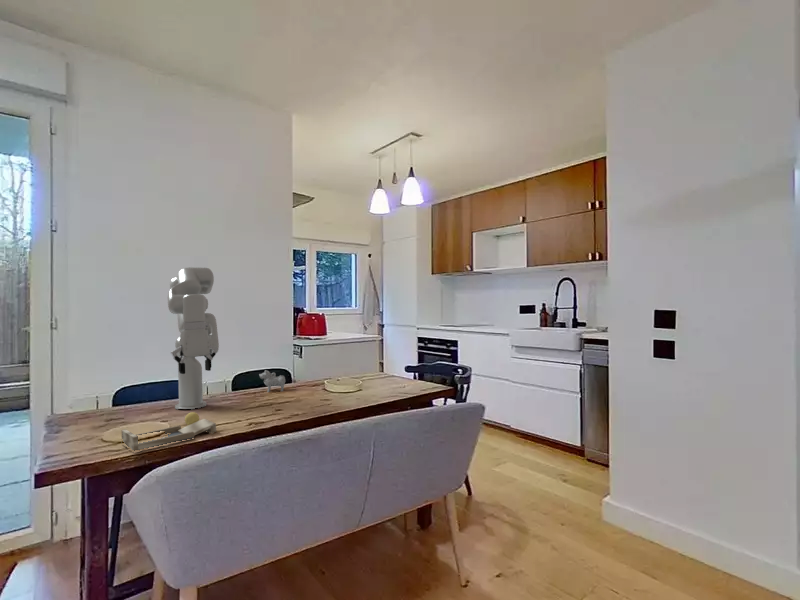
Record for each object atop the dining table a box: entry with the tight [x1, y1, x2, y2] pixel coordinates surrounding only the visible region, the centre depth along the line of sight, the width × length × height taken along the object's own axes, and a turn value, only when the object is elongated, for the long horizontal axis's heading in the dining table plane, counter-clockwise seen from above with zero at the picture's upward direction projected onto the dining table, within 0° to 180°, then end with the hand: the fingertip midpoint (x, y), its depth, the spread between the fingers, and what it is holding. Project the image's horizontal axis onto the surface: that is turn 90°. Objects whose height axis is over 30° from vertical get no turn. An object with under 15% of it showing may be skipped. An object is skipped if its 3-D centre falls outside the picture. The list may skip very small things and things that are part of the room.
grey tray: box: [121, 425, 195, 451], centre depth 156 cm, size 12×19×5 cm, turn 137°
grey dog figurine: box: [258, 370, 286, 393], centre depth 236 cm, size 5×13×11 cm, turn 100°
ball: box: [184, 411, 200, 426], centre depth 175 cm, size 5×5×5 cm
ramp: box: [177, 418, 217, 436], centre depth 166 cm, size 10×9×3 cm
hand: (195, 371), depth 176 cm, fingers open, 9 cm apart
